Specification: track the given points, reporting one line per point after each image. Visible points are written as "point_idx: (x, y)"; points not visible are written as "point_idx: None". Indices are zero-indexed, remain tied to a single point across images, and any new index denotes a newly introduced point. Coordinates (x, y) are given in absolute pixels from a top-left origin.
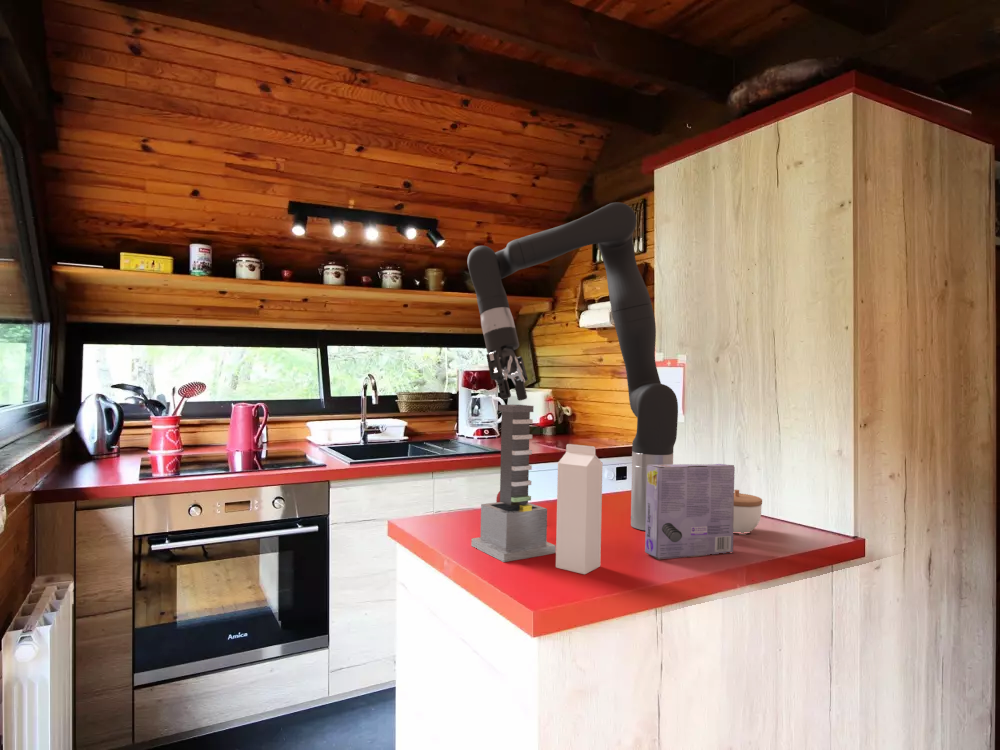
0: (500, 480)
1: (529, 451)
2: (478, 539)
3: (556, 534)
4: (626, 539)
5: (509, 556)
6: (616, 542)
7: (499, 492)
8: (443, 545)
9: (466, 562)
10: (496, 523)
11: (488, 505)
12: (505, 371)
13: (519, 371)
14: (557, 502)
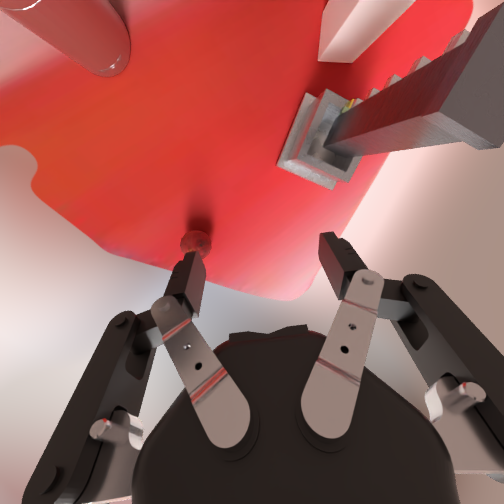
0: (361, 155)
1: (398, 78)
2: (331, 182)
3: (374, 40)
4: (190, 43)
5: None
6: (213, 49)
7: (204, 255)
8: (340, 212)
9: (377, 157)
10: None
11: (350, 170)
12: (371, 306)
13: (198, 333)
14: (406, 8)
